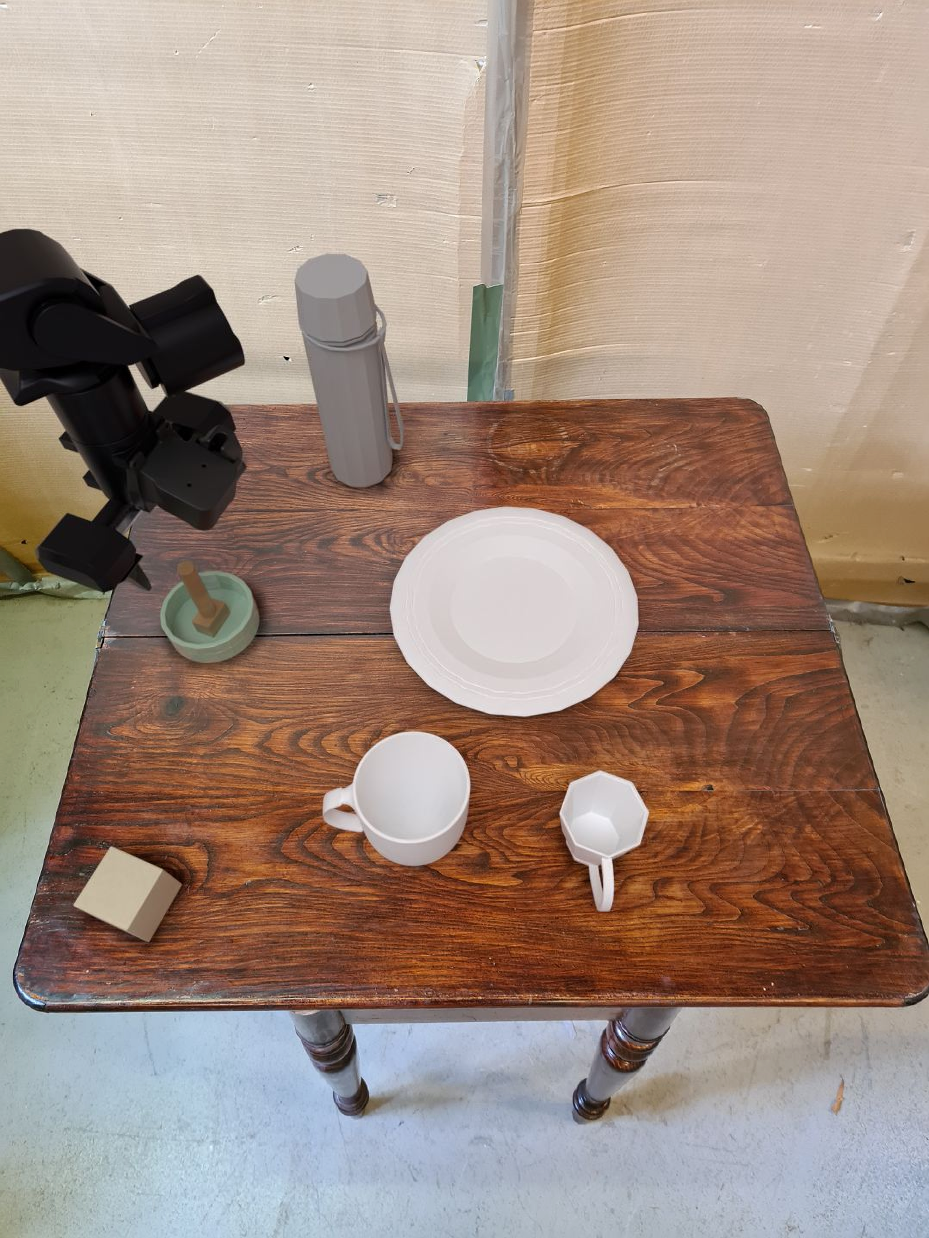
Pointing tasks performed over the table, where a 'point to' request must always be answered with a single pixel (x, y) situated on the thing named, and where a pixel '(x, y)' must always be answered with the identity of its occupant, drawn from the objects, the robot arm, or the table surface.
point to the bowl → (231, 634)
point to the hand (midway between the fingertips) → (175, 547)
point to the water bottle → (347, 367)
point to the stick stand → (128, 893)
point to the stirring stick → (202, 601)
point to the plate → (514, 611)
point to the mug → (406, 798)
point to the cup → (602, 826)
